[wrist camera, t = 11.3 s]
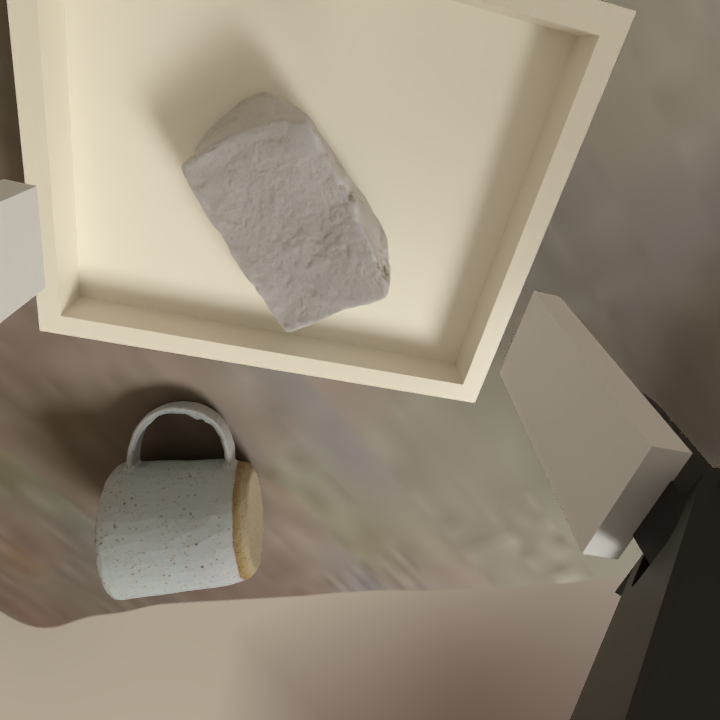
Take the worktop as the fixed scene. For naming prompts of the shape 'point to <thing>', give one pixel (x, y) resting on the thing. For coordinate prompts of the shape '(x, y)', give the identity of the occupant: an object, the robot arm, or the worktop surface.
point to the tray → (345, 137)
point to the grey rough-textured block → (289, 212)
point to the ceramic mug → (178, 518)
